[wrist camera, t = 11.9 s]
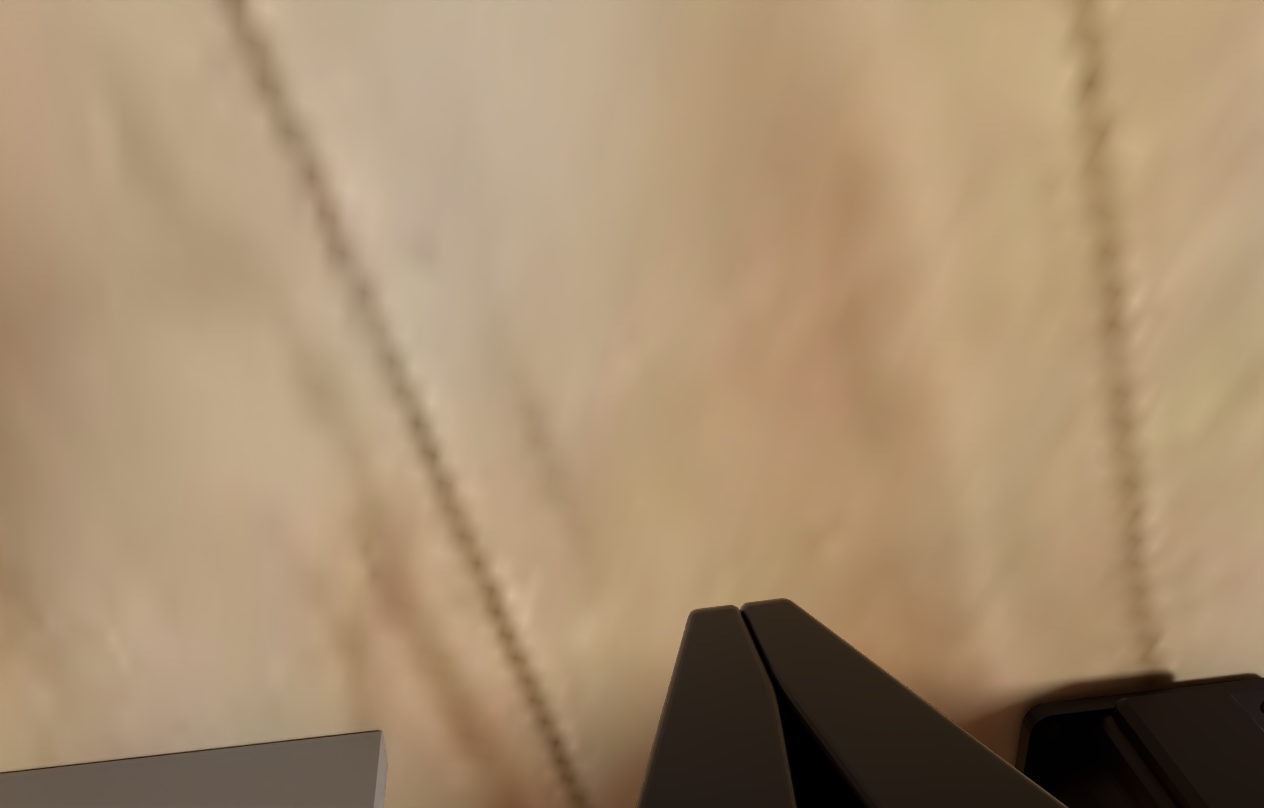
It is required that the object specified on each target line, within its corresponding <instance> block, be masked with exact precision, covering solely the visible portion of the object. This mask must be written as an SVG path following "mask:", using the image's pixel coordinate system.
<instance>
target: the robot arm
mask: <svg viewBox="0 0 1264 808" xmlns="http://www.w3.org/2000/svg"><path fill="white" fill-rule="evenodd" d="M1047 724H1049V725H1048V726H1046V727H1044V726H1045V725H1047ZM636 808H1264V678H1257V679H1248V680H1240V681H1231V682H1223V683H1214V684H1206V685H1197V686H1189V687H1180V688H1172V689H1163V690H1155V691H1146V692H1137V693H1129V694H1120V695H1112V696H1103V697H1095V698H1086V699H1078V700H1069V701H1061V702H1052V703H1045V704H1041V705H1037V706H1036V707H1034V708H1032V709H1031V710H1030V711H1029V712H1028V713H1027V714H1026V715H1025V717H1024V720H1023V722H1022V728H1021V734H1020V741H1019V747H1018V753H1017V759H1016V765H1015V767H1013V766H1012V765H1011V764H1009V763H1008V762H1007V761H1005V760H1004V759H1003V758H1001V757H1000V756H998V755H997V754H996V753H994V752H993V751H992V750H990V749H989V748H988V747H986V746H985V745H984V744H982V743H981V742H980V741H978V740H977V739H976V738H974V737H973V736H972V735H970V734H969V733H968V732H966V731H965V730H964V729H962V728H961V727H960V726H958V725H957V724H956V723H954V722H953V721H952V720H950V719H949V718H948V717H946V716H945V715H944V714H942V713H941V712H940V711H938V710H937V709H936V708H934V707H933V706H932V705H930V704H929V703H928V702H926V701H925V700H924V699H922V698H921V697H920V696H918V695H917V694H916V693H914V692H913V691H912V690H910V689H909V688H908V687H906V686H905V685H903V684H902V683H901V682H899V681H898V680H897V679H895V678H894V677H893V676H891V675H890V674H889V673H887V672H886V671H885V670H883V669H882V668H881V667H879V666H878V665H877V664H875V663H874V662H873V661H871V660H870V659H869V658H867V657H866V656H865V655H863V654H862V653H861V652H859V651H858V650H857V649H855V648H854V647H853V646H851V645H850V644H849V643H847V642H846V641H845V640H843V639H842V638H841V637H839V636H838V635H837V634H835V633H834V632H833V631H831V630H830V629H829V628H827V627H826V626H825V625H823V624H822V623H821V622H819V621H818V620H817V619H815V618H814V617H813V616H811V615H810V614H809V613H807V612H806V611H804V610H803V609H802V608H800V607H799V606H798V605H796V604H795V603H794V602H792V601H791V600H788V599H785V598H780V599H772V600H764V601H756V602H749V603H745V604H744V605H743V606H742V607H741V609H740V610H739V609H738V607H736V606H733V605H725V606H717V607H709V608H701V609H696V610H693V611H692V612H691V613H690V614H689V616H688V619H687V623H686V626H685V630H684V634H683V637H682V641H681V645H680V648H679V652H678V656H677V659H676V663H675V666H674V670H673V674H672V677H671V681H670V685H669V688H668V692H667V695H666V699H665V703H664V706H663V710H662V714H661V717H660V721H659V724H658V728H657V732H656V735H655V739H654V743H653V746H652V750H651V753H650V757H649V761H648V764H647V768H646V772H645V775H644V779H643V782H642V786H641V790H640V793H639V797H638V801H637V804H636Z"/></svg>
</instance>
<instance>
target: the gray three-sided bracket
mask: <svg viewBox="0 0 1264 808" xmlns="http://www.w3.org/2000/svg"><path fill="white" fill-rule="evenodd" d="M387 767H388V764H387V759H386V753H385V747H384V741H383V736H382V731H376V732H367V733H358V734H349V735H340V736H332V737H323V738H314V739H305V740H296V741H287V742H278V743H269V744H261V745H252V746H243V747H234V748H225V749H216V750H207V751H198V752H190V753H181V754H172V755H163V756H154V757H145V758H136V759H127V760H119V761H110V762H101V763H92V764H83V765H74V766H65V767H56V768H48V769H39V770H30V771H21V772H12V773H3V774H0V808H384V799H385V788H386V777H387Z"/></svg>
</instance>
